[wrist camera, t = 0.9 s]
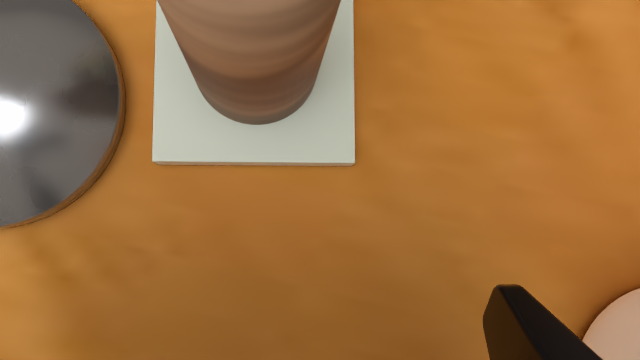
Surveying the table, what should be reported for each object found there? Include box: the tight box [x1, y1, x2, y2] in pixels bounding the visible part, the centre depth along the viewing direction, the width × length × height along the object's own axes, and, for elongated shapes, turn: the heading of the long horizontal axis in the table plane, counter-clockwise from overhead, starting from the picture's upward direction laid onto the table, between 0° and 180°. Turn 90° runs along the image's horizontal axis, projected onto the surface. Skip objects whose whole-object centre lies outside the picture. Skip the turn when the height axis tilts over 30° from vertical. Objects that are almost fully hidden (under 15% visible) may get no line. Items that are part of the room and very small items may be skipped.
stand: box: [152, 0, 355, 166], centre depth 22 cm, size 8×8×1 cm
